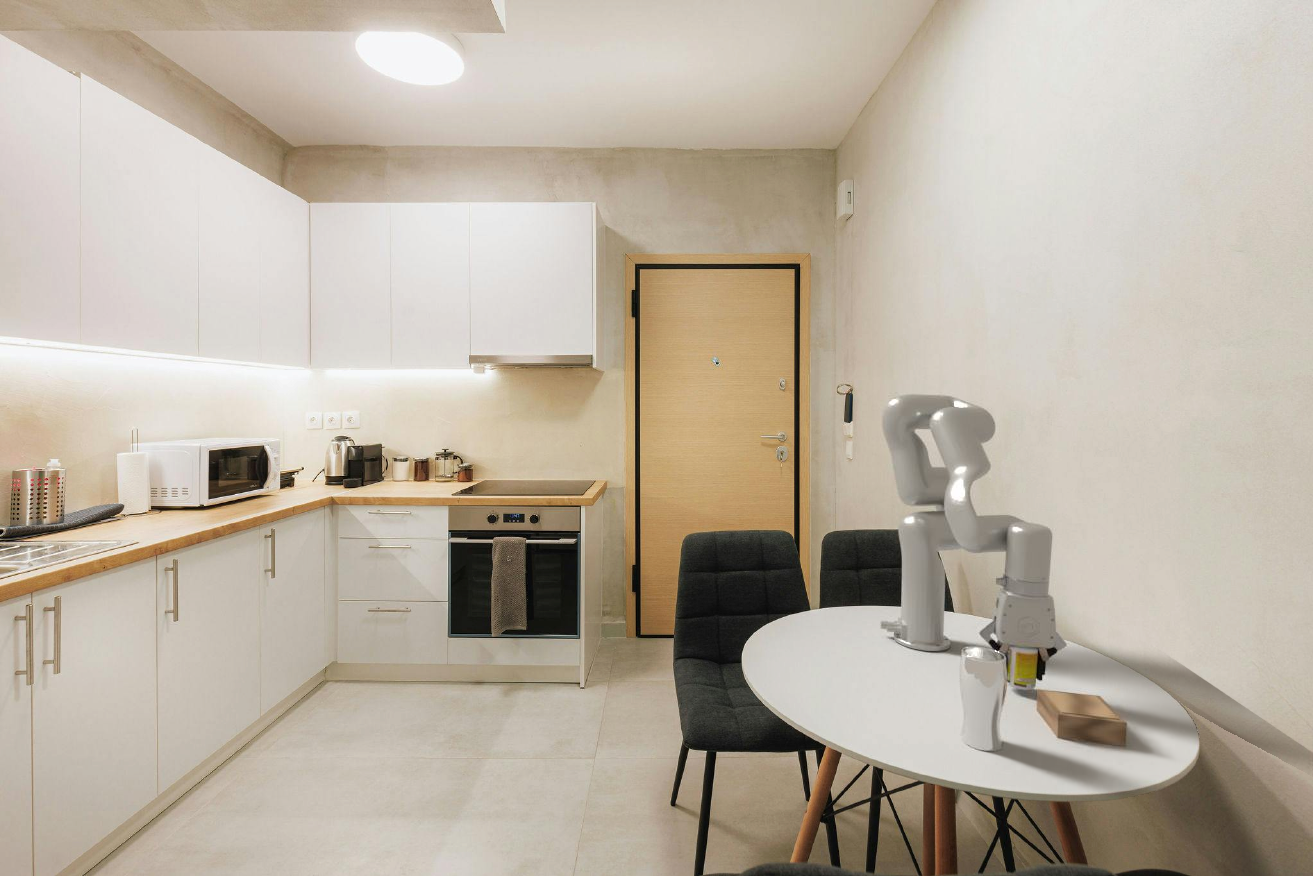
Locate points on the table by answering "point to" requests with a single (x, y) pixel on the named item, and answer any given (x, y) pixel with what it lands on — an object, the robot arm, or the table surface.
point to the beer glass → (982, 696)
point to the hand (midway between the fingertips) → (1019, 674)
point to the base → (1081, 717)
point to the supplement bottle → (1021, 667)
